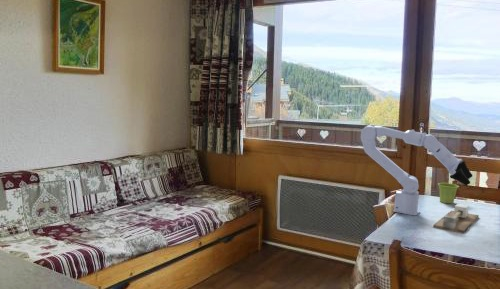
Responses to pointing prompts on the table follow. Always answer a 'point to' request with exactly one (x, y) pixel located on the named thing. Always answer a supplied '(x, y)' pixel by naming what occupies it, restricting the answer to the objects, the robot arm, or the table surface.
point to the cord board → (456, 222)
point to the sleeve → (461, 208)
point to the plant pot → (447, 192)
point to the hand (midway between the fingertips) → (469, 180)
